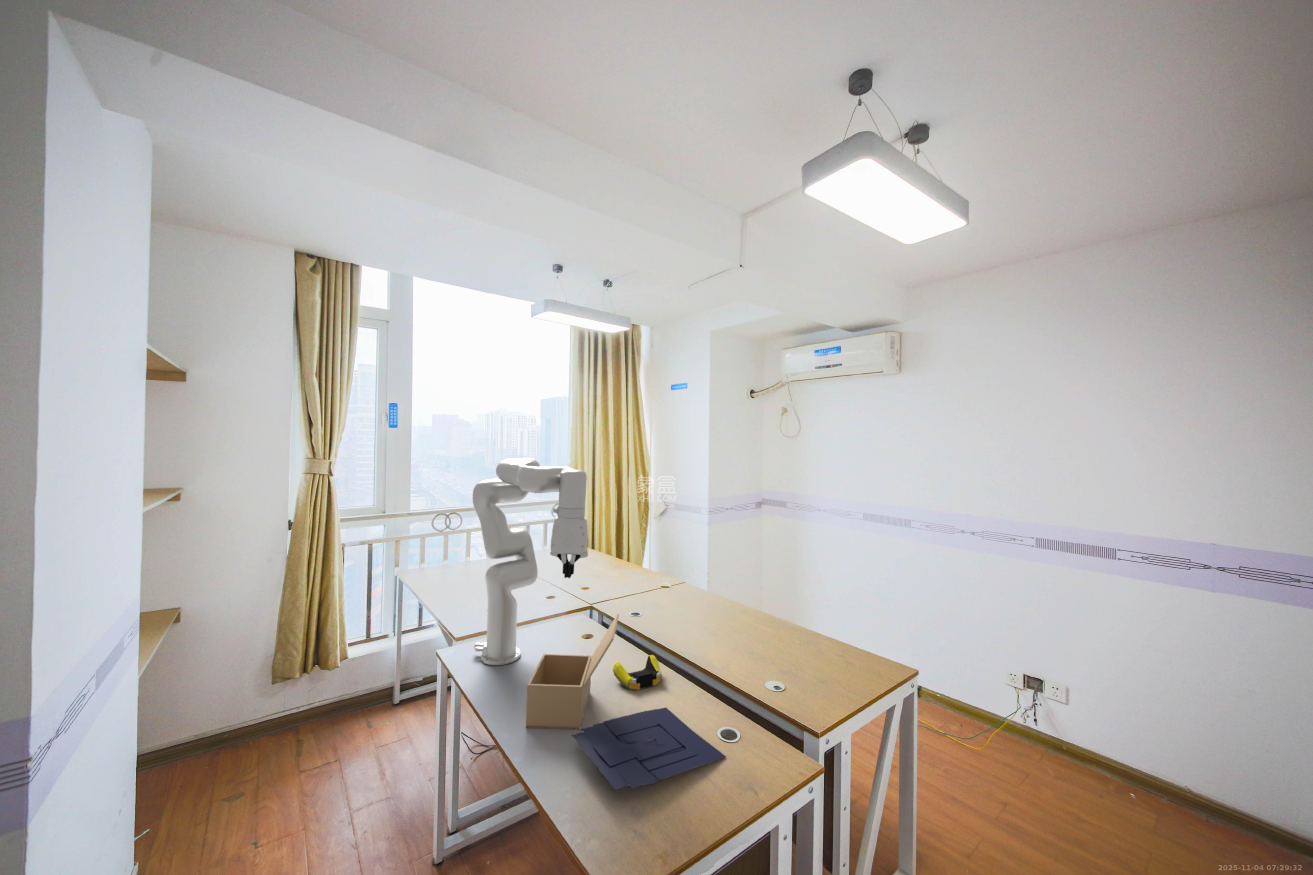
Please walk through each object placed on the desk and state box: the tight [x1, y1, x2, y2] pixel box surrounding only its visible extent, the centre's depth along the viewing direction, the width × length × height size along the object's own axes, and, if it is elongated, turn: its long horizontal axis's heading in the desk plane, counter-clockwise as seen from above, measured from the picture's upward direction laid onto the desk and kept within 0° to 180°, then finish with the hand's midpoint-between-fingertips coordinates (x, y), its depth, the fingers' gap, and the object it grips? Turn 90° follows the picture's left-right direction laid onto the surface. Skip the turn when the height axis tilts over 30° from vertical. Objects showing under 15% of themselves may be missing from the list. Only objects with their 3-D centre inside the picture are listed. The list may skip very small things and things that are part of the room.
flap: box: [584, 613, 620, 686], centre depth 127 cm, size 14×17×1 cm
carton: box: [525, 653, 592, 731], centre depth 127 cm, size 14×17×11 cm
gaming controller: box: [612, 654, 662, 691], centre depth 143 cm, size 15×6×10 cm
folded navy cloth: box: [570, 707, 727, 791], centre depth 111 cm, size 24×30×4 cm
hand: (568, 576), depth 133 cm, fingers closed
